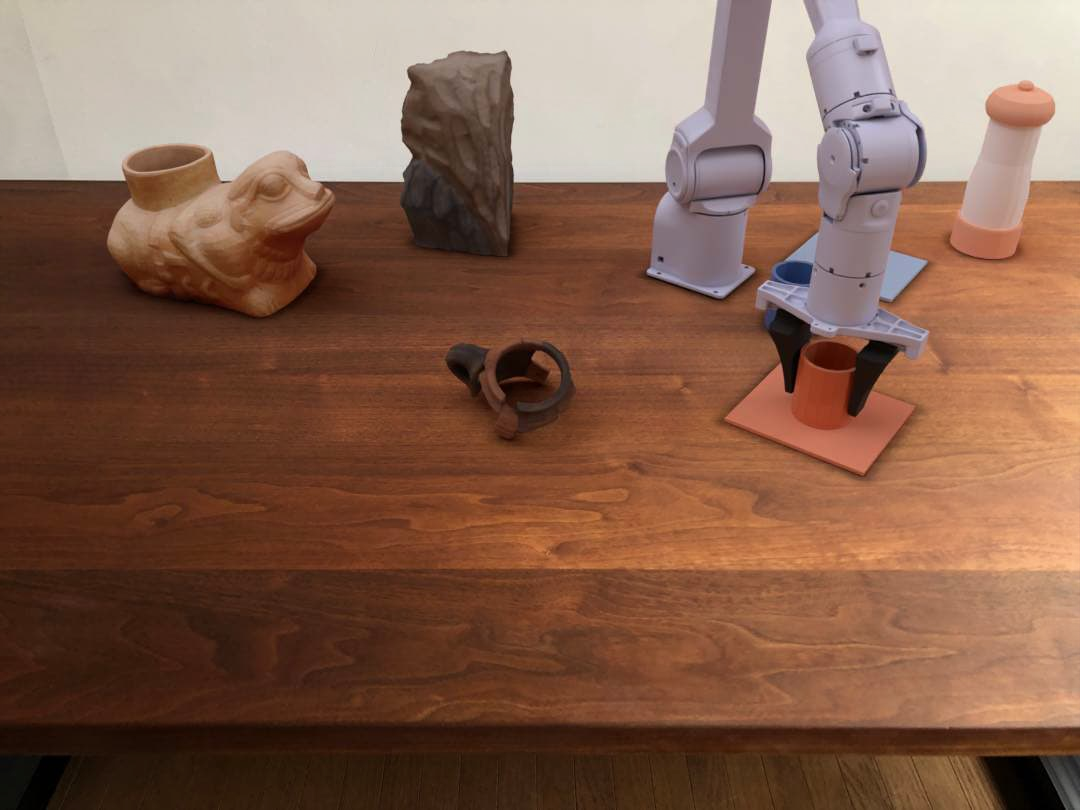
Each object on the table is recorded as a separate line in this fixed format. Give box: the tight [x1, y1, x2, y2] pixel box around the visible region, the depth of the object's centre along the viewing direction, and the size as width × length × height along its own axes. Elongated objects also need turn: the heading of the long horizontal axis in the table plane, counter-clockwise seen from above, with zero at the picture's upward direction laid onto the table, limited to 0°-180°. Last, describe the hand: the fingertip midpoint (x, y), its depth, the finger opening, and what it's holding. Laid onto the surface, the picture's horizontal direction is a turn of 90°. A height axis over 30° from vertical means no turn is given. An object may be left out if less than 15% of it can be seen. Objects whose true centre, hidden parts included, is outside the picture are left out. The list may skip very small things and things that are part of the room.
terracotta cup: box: [791, 338, 861, 430], centre depth 93 cm, size 5×5×6 cm
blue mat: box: [784, 231, 929, 304], centre depth 118 cm, size 13×11×1 cm
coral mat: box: [723, 362, 916, 477], centre depth 95 cm, size 13×12×1 cm
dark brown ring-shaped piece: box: [444, 336, 577, 440], centre depth 94 cm, size 12×10×8 cm
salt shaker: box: [949, 79, 1056, 260], centre depth 117 cm, size 7×7×19 cm
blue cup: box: [763, 260, 816, 337], centre depth 106 cm, size 5×5×6 cm
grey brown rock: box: [399, 49, 515, 257], centre depth 120 cm, size 13×13×20 cm
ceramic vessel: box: [106, 142, 336, 318], centre depth 110 cm, size 14×26×15 cm, turn 71°
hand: (823, 398), depth 94 cm, fingers closed on terracotta cup, 5 cm apart
